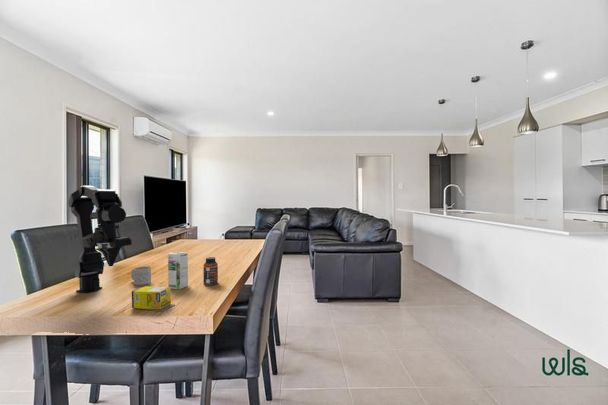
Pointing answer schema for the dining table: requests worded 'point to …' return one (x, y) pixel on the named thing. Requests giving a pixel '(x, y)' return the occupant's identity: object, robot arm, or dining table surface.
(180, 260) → the syrup box
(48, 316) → the dining table surface
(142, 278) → the grey box
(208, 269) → the supplement bottle
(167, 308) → the mat
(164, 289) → the supplement box
